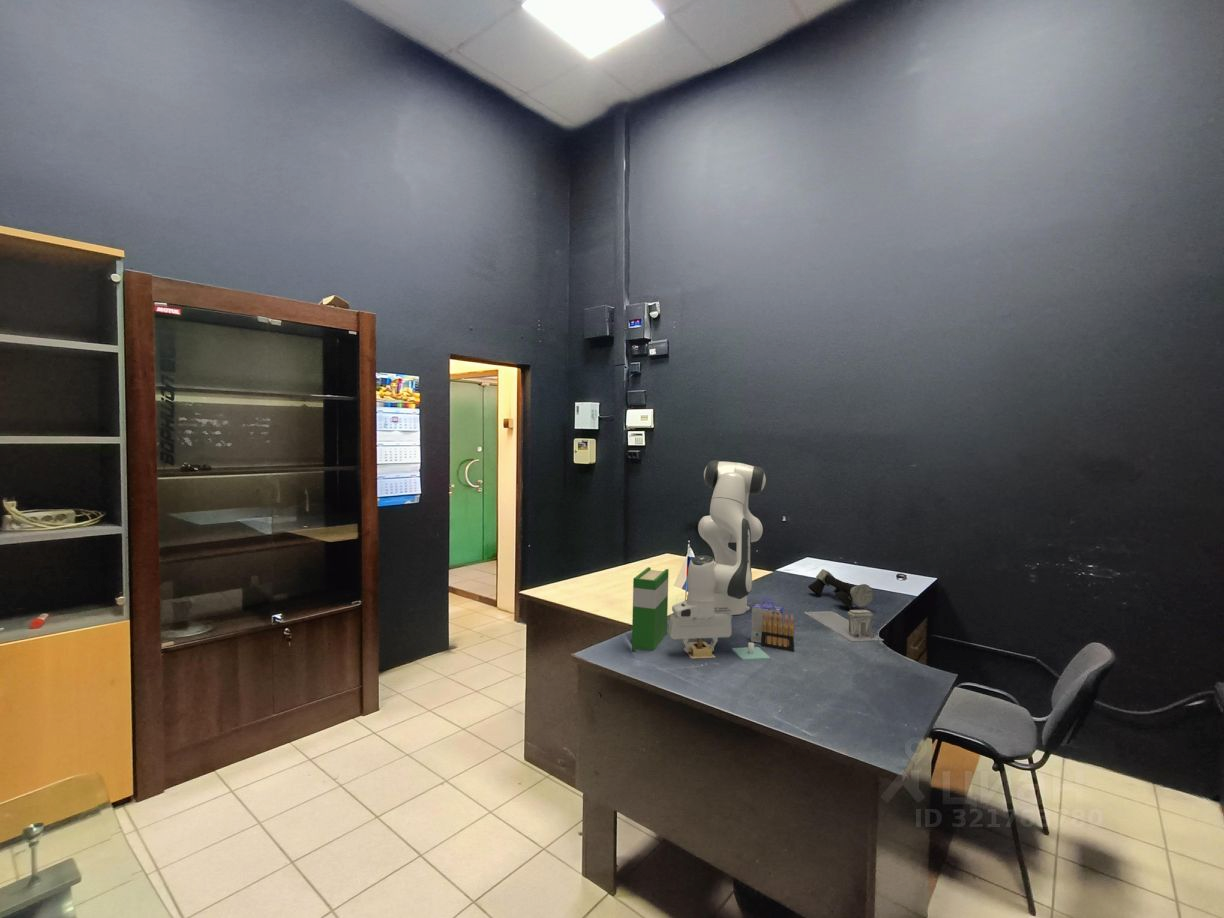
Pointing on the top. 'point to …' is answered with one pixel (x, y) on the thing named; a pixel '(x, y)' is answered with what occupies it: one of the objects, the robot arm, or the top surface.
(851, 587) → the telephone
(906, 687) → the top surface
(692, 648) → the tan tray
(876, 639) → the triumphal arch model
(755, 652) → the mint green base plate
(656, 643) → the hardback book
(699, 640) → the stand
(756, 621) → the ink cartridge box
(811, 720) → the top surface
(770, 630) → the ammunition clip
